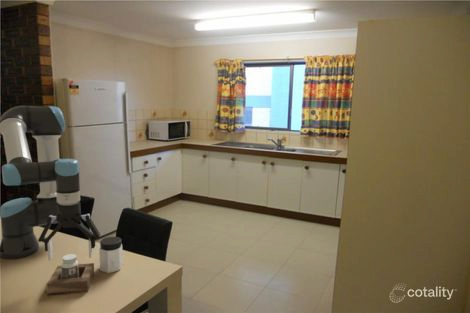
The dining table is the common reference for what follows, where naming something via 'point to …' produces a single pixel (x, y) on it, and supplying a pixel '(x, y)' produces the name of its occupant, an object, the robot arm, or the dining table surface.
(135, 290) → the dining table surface
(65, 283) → the socket block
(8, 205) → the robot arm
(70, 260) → the pill bottle
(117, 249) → the jar
